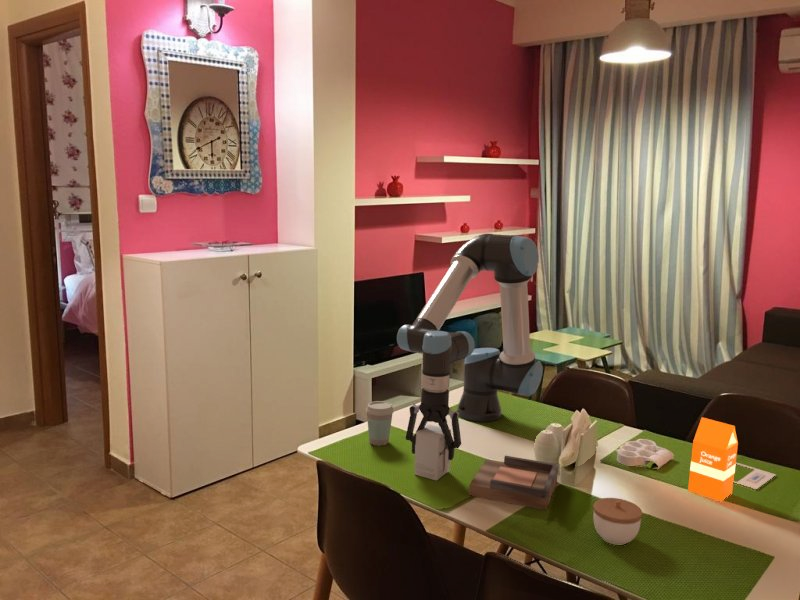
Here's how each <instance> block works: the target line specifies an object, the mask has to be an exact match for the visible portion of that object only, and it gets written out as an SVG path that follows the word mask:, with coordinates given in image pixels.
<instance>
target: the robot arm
mask: <svg viewBox="0 0 800 600" xmlns="http://www.w3.org/2000/svg"><path fill="white" fill-rule="evenodd" d="M539 261H540V259H539V250H538V247H537V245H536V243H535V242H534V241H533V239H531V238H530V237H526V236H521V235H509V234H508V235H507V234H495V233H482V234H479V235H476V236H474V237H473V238H471V239H469V240H468V241H466V242H465V243H464V244H462V246H460V247H459V248H458V249H457V251H456V252H455V253H454V254H453V256H452V258H451V259H450V261H449V262H450V263H449V264H450V266H449V268H448V270H447V271H446V273H445V274H444V276H442V279H441V280H440V282H439V283H438V285H437V286H436V288H435V290H434V291H433V293H432V294H431V296H430V297H429V299H428V300H427V302H426V303H425V305H424V306H423V308H422V309H421V311H420V313H418V315H417V317H416V319H414V322H413V323H412V324H404V325H402V326H400V328H399V329H398V331H397V334H396V343H397V345H398V347H399V348H400V349H401V350H404V351H408V352H411V353H417V354H422V369H421V387H422V388H421V390H420V404H419V405H417V404H411V406H410V407H409V415H410V416H409V420H408V424H407V429H406V433H405V440H406V441H410V442H411V453H412V454H414V455H415V450H416V432H417V431H419V430H422V429H423V428H424V427H426V426H427V423H428V422H429V423H430V422H431V423H435V424H438V427H441V430H442V432H443V434H444V436H445V440H446V443H447V446H448V447H447V448H446V449H445V471H444V472H448V470H449V471H450V469H451V461H452V460H453V459H454V458H455V449H459V448H460V446H461V445H462V437H461V430H460V423H459V422H460V421H459V418H462V419H465V420H467V421H473V422H484V423H485V422H486V423H487V422H494V421H498V420H499V419H501V417H502V406H501V403H500V400H499V396H498V395H499V394H498V391H502V392H507V393H511V394H514V395H515V394H516V395H518V396H526V397H530V396H532V395H534V394H535V393H536V391H537V390H538V388H539V386H540V384H541V382H542V378H543V370H544V367H543V364H542V363H541V362H540V361H536V354H535V352H534V351H533V350H532V349H531V339H530V338H531V336H530V317H529V293H528V283H529V281H530V280H532V278H533V275H535V273H537V270H538V266H539V265H538V264H539V263H540V262H539ZM482 271H487V272H493V275H494V281H495V282H496V283H497V284H499V294H500V295H499V296H500V308H501V309H500V310H501V327H502V344H503V350H502V351H500V348H499V349H498V348H495V347H480V348H479V347H478V348H475V346H476V343H475V340H474V337H473V336H472V334H470V333H469V332H468V331H464V330H463V331H462V330H461V331H459V330H458V331H456V332H450V331H445V330H444V331H443V330H441V327H442V326H443V325H444V323H445V321H446V320H447V318H448V317H449V315H450V313H451V312H452V311H453V309H454V307H455V305H456V303H458V301H459V299H460V298H461V296H462V295H463V292H464V291H465V289H466V288H467V286H468V284H469V283H470V282H471V280H472V279H475V278H476V277H478V275H479V273H480V272H482ZM460 360H464V363H463V364H464V367H463V371H464V372H463V376H464V377H463V391H462V395H461V396H460V400H459V402H458V405H457V410H452V409H450V407H449V406H450V405H449V403H450V402H449V397H450V391H449V389H450V374H451V373H450V371H451V364H453V363H455V362H458V361H460ZM419 412H420V413H421V415H422V419H421V421H420V423H419V425H418V428H417V430H416V431H415V432H414V429H415V426H416V421H417V416H418V413H419ZM448 415H449V418H450V419H451V427H452V428H451V429H452V431H451V432H450V430H449V429H450V427H449V424H448V420H447V416H448ZM413 434H414V435H413ZM452 435H453V436H452ZM448 473H449V472H448Z"/></svg>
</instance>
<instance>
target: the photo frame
mask: <svg viewBox="0 0 800 600" xmlns="http://www.w3.org/2000/svg"><path fill="white" fill-rule="evenodd" d="M736 464H737V465H736V466H738V465H740V466H739V467H742V466H743V468H745V467H747V468H746V469H748V468H750V469H749V470H751V469H753V470H752V471H750V472H749V473H748V474H746V475H745V476H744V477H742V478H741V479H739V480H738V481H735V480H734V481H733V482H734V483H737V484H741V485H744V486H747V487H751V488H753V489H758V488H759V487H761V486H762V485H763V484H765V483H766V482H767V481H769V480H770V479H771V480H773V479H774V478H775V477H777V473H776V474H775V473H772V472H769V471H767V470H766V471H765V470H762V469H759V468H756V467H754V466H750V465H746V464H743V463H739V462H737V461H736ZM774 476H775V477H774ZM773 477H774V478H773ZM772 478H773V479H772ZM771 480H770V481H771ZM770 481H769V482H770ZM767 483H768V482H767ZM767 483H766V484H767ZM737 484H736V485H737ZM766 484H765V485H766ZM763 486H764V485H763ZM763 486H762V487H763ZM762 487H761V488H762ZM759 489H760V488H759ZM759 489H758V490H759Z"/></svg>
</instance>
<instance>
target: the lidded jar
mask: <svg viewBox="0 0 800 600" xmlns="http://www.w3.org/2000/svg"><path fill="white" fill-rule="evenodd" d="M592 513H593V516H592V517H593V519H592V520H593V524H594V525H593V526H594V528H595V530H596V533H597V534H598V535H599V536H600V538H601V537H602V538H603V539H604V540H605V541H607V542H609V543H613V544H618V545H622V544H626V543H628V542H629V543H630V542H632V541H633V540H634V539H635V538H636V536H637V535H638V533H639V531H640V528H641V522H642V517H643V510H642V508H641V507H640V506H638V505H637V504H635V503H634V502H632V501H630V500H627V499H623V498H617V497H603V498H599V499H597V500H596V501H595V502H594V503H593V511H592ZM602 538H601V539H602ZM629 543H628V544H629Z"/></svg>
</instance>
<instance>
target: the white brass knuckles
mask: <svg viewBox="0 0 800 600" xmlns="http://www.w3.org/2000/svg"><path fill="white" fill-rule="evenodd" d="M614 452H616V453H617V456H616V457H617V458H616V462H617V461H618V462H619V463H621V464H624V465H628V466H635V465H644V466H646V465H647V464H648V463H649V462H650V461H652V462H654V463H655V464H656V466H658V468H657V470H660V468H661V467H663V466H664V465H665V464H667V463H669V461H671V460H673V459H674V456H675V455H674V453H673V452H672V451H671V450H670V449H667V448H665V447H661V446H658V445H657V443H656V442H655V441H653V440H652V439H647V438H646V439H645V438H637V440H631V441H629V440H628V441H625V443H624V444H621V445H620V447H619V449H618V448H617V449H615V450H614ZM618 462H617V463H618ZM619 463H618V464H619ZM621 464H620V465H621ZM628 466H627V467H628Z"/></svg>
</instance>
